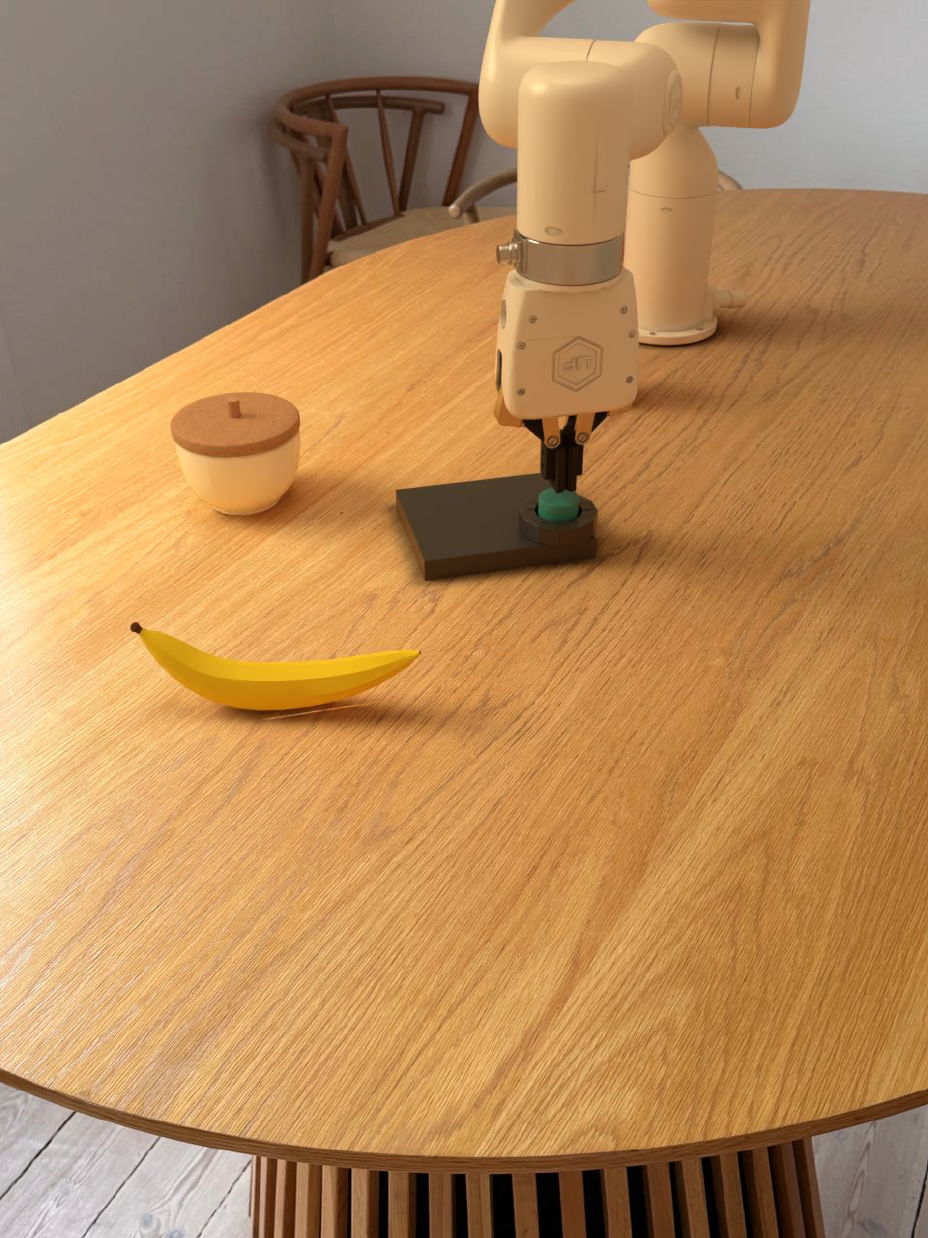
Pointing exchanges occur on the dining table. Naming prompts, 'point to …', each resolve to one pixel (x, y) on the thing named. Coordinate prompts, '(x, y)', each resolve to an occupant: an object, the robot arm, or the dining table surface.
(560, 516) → the button
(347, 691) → the banana
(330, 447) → the dining table surface
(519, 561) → the scale
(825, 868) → the dining table surface
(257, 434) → the cream bowl with lid
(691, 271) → the robot arm
